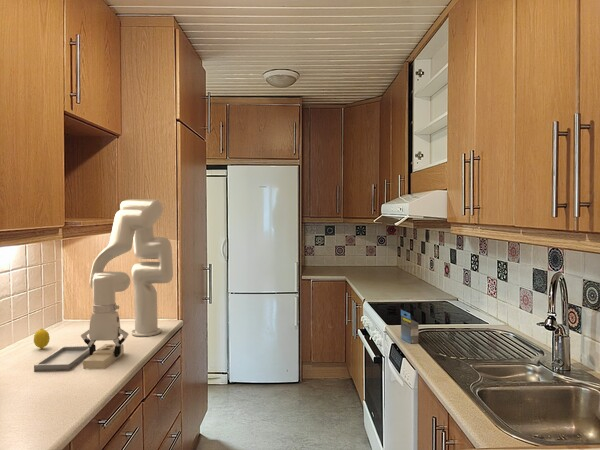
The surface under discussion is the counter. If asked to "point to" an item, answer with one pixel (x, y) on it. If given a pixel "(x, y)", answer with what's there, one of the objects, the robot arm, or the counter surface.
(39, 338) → the lemon
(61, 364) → the grey rectangular tray
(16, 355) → the counter surface
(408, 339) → the label tape cartridge
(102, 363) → the electrical outlet
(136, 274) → the robot arm
